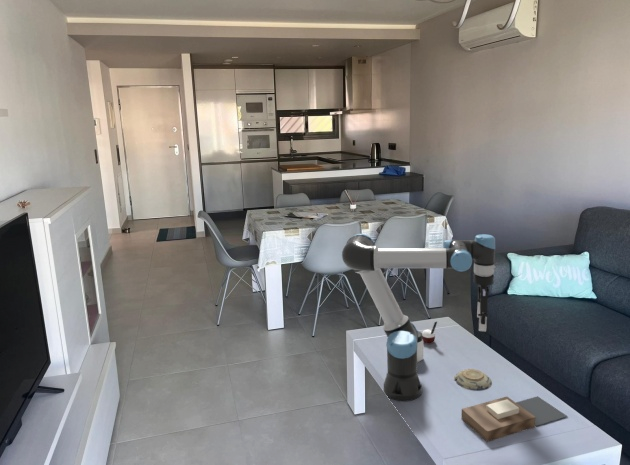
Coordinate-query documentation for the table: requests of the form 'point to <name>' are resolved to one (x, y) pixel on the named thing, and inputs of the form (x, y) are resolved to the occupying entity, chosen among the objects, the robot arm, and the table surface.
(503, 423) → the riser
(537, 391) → the table surface
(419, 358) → the jar
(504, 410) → the tile
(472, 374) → the decorative bowl
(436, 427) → the table surface
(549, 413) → the mat
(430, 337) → the toy boat
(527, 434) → the table surface
